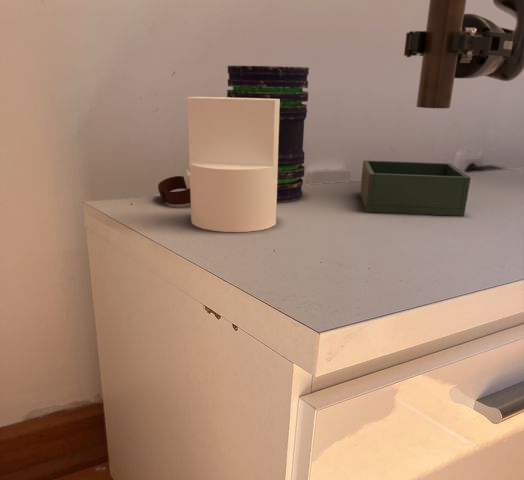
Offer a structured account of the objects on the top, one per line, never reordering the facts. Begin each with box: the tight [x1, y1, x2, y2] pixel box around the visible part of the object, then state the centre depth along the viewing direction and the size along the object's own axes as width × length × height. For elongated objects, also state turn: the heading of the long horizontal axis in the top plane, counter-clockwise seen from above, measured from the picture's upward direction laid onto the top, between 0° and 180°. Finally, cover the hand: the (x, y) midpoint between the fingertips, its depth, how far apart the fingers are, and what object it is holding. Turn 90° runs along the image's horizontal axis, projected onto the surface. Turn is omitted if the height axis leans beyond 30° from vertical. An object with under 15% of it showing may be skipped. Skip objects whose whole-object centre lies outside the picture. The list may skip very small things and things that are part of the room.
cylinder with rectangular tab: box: [186, 96, 280, 233], centre depth 58 cm, size 9×9×12 cm
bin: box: [359, 159, 472, 217], centre depth 70 cm, size 11×11×4 cm
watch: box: [157, 169, 191, 206], centre depth 68 cm, size 8×5×4 cm, turn 27°
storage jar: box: [226, 65, 310, 204], centre depth 71 cm, size 10×10×15 cm
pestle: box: [415, 0, 467, 109], centre depth 67 cm, size 4×4×12 cm
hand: (435, 41), depth 65 cm, fingers closed on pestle, 4 cm apart
